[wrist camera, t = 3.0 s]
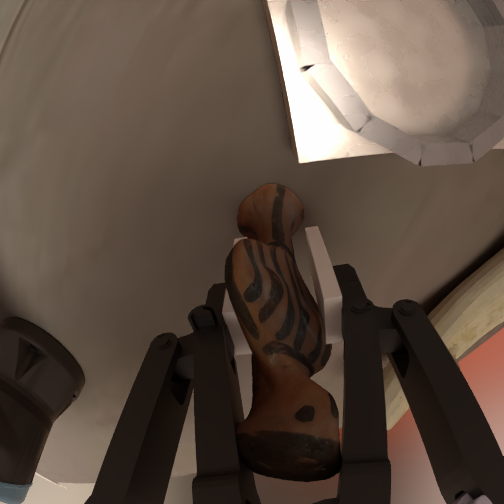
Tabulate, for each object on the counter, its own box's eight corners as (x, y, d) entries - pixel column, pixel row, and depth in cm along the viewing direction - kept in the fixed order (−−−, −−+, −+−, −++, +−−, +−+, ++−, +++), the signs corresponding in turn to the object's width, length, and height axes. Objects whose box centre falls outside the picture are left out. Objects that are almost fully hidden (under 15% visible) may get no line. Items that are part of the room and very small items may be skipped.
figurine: (329, 237, 23) (406, 477, 7) (278, 272, 25) (290, 509, 9) (268, 162, 20) (290, 424, 5) (214, 205, 22) (134, 461, 6)
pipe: (530, 190, 19) (597, 238, 11) (543, 242, 22) (593, 292, 13) (329, 360, 30) (344, 442, 21) (368, 385, 33) (384, 455, 24)
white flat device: (292, 152, 20) (305, 179, 14) (252, -38, 13) (248, -82, 7) (510, 139, 17) (560, 162, 12) (488, -14, 10) (536, -23, 5)
